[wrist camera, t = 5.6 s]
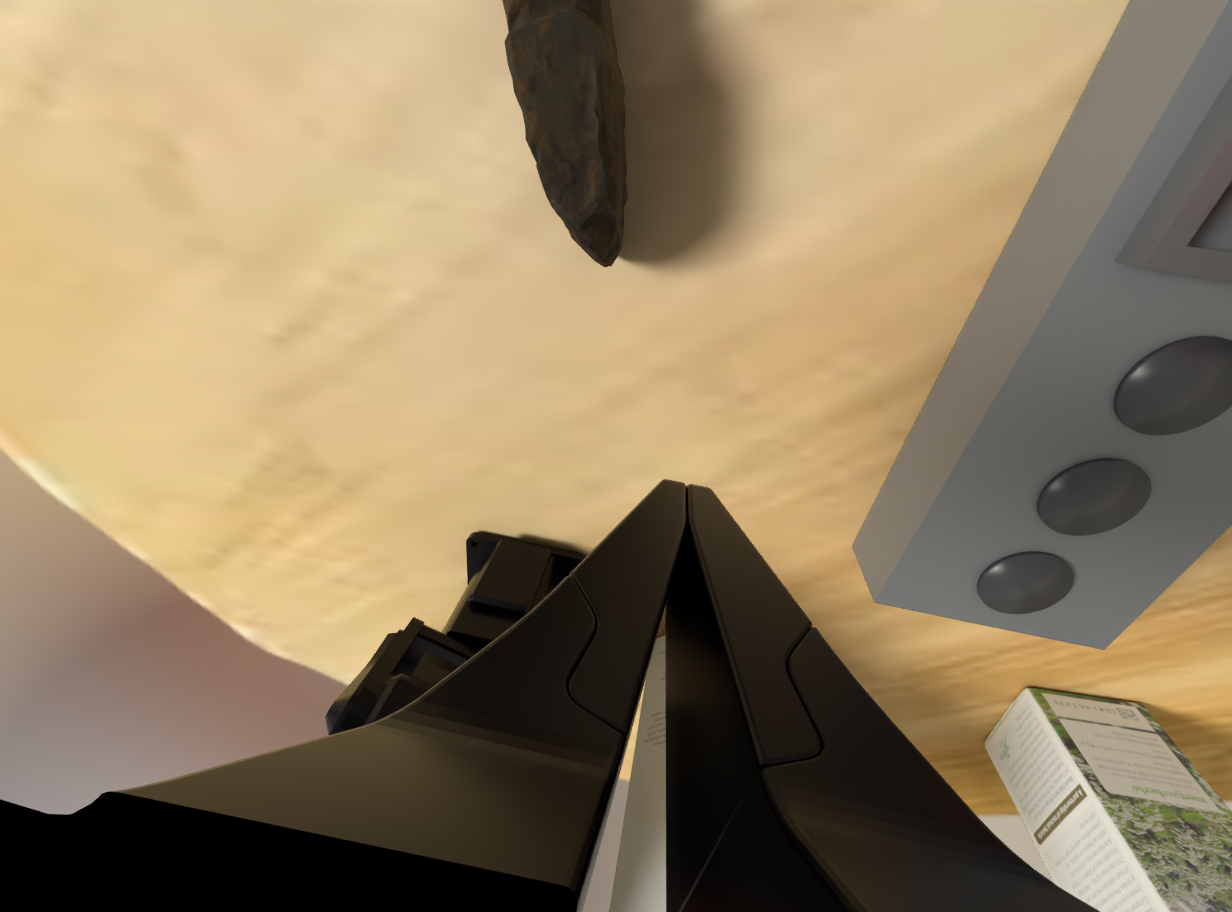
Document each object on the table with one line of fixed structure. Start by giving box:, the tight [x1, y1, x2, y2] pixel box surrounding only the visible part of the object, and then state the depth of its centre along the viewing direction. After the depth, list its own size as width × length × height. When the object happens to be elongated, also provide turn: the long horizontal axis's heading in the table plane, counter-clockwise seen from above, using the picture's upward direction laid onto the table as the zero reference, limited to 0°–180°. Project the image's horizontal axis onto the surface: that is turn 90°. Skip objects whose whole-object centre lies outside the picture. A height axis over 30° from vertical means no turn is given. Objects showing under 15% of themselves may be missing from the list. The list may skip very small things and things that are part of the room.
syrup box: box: [984, 688, 1232, 912], centre depth 20 cm, size 6×6×14 cm
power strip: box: [852, 0, 1232, 650], centre depth 15 cm, size 22×9×4 cm, turn 172°
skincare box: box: [609, 635, 666, 912], centre depth 22 cm, size 8×6×15 cm
